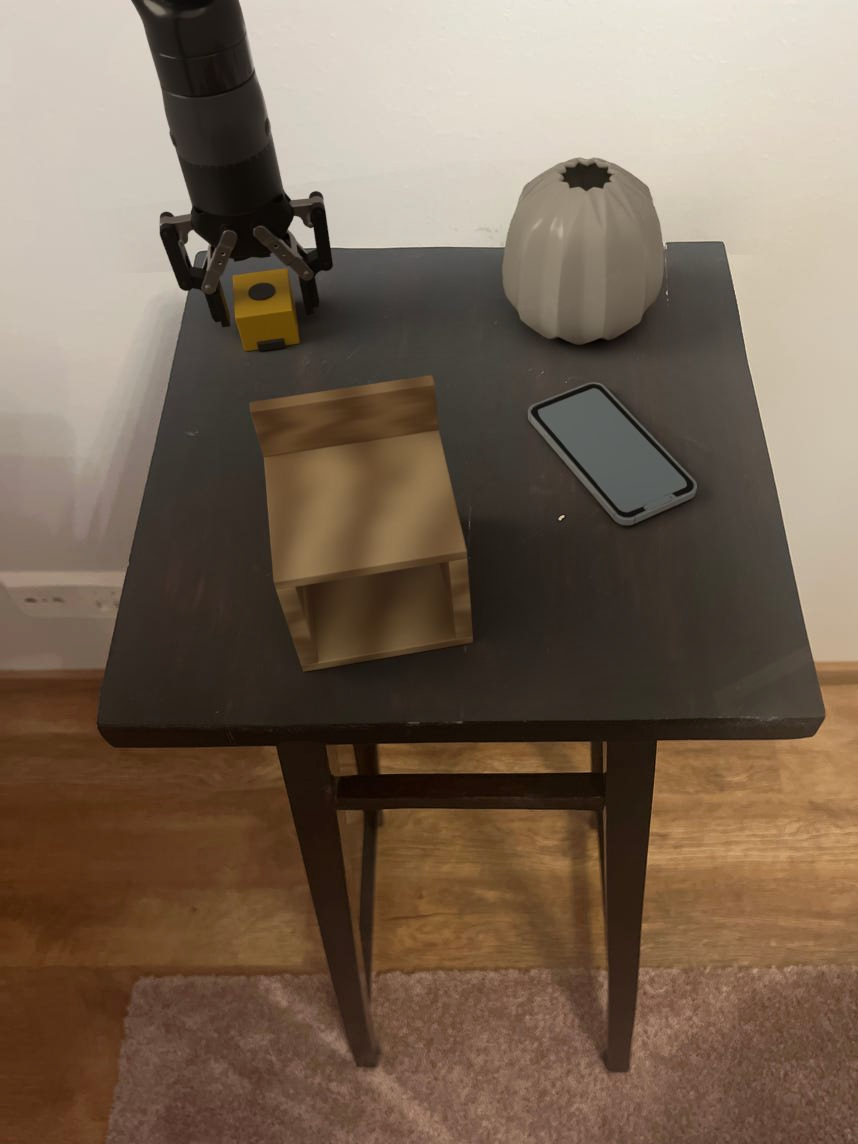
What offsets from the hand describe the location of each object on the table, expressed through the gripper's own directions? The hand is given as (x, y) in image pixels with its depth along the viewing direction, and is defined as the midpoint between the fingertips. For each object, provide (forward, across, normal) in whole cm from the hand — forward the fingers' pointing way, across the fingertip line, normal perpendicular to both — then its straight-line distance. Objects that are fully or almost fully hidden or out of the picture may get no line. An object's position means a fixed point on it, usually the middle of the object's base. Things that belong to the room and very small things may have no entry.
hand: (267, 315), depth 89 cm
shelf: (+1, -6, +33) cm, 34 cm away
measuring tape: (+1, 0, 0) cm, 1 cm away
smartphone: (+1, -26, +23) cm, 35 cm away
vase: (+1, -28, +5) cm, 28 cm away
